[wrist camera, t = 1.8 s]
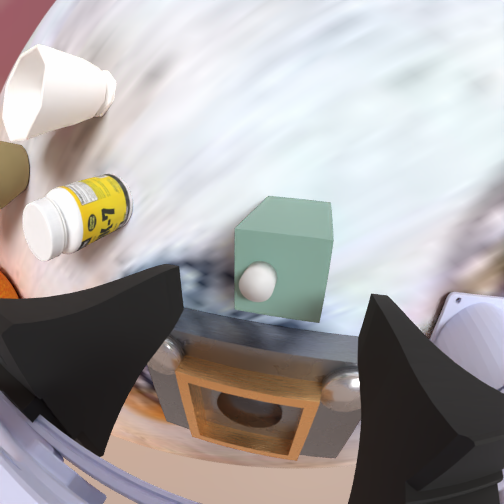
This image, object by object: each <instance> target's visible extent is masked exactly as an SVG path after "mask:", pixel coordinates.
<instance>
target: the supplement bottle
mask: <svg viewBox="0 0 504 504" xmlns="http://www.w3.org/2000/svg"><path fill="white" fill-rule="evenodd" d="M132 208H133V200H132V195H131V191H130V189H129V187H128V185H127V184H126V182H125V181H124V180H123V179H122V178H120V177H119V176H117V175H115V174H104V175H100V176H96V177H92V178H89V179H85V180H81V181H78V182H74V183H71V184H67V185H64V186H60V187H57V188H55V189H52V190H51V191H50V192H48V193H47V195H46V196H45V197H44V198H40V199H38V200H36V201H33V202H31V203H29V204H27V205H26V207H25V209H24V211H23V217H22V224H23V231H24V235H25V239H26V242H27V244H28V246H29V248H30V250H31V251H32V253H33V254H34V255H35V257H36V258H37V259H39V260H40V261H44V262H46V261H49V260H51V259H53V258H55V257H58V256H59V255H60V254H61V253H63V254H71V253H74V252H76V251H78V250H80V249H81V248H83V247H85V246H87V245H89V244H90V243H92V242H94V241H96V240H98V239H100V238H102V237H104V236H105V235H107V234H109V233H111V232H113V231H115V230H117V229H119V228H121V227H123V226H124V225H125V224H126V223H127V222H128V220H129V218H130V216H131V213H132Z"/></svg>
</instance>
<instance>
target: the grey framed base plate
mask: <svg viewBox="0 0 504 504" xmlns="http://www.w3.org/2000/svg"><path fill="white" fill-rule="evenodd" d="M357 359H358V337H357V336H348V335H339V334H331V333H323V332H316V331H308V330H301V329H295V328H288V327H282V326H276V325H270V324H264V323H258V322H252V321H247V320H241V319H236V318H231V317H226V316H221V315H216V314H211V313H206V312H201V311H197V310H192V309H188V308H184V310H183V312H182V314H181V316H180V318H179V320H178V322H177V323H176V325H175V327H174V329H173V330H172V332H171V333H170V334H169V336H168V337H167V338H166V340H165V341H164V342H163V344H162V345H161V346H160V348H159V349H158V350H157V352H156V353H155V354H154V355H153V357H152V358H151V359H150V361H149V362H148V363H147V365H148V368H149V372H150V375H151V378H152V381H153V384H154V387H155V390H156V393H157V396H158V399H159V401H160V404H161V407H162V410H163V412H164V415H165V418H166V420H167V421H168V422H171V423H173V424H176V425H179V426H182V427H185V428H187V429H190V431H191V434H192V437H195V438H199V439H202V440H205V441H208V442H212V443H215V444H219V445H222V446H226V447H230V448H234V449H238V450H242V451H246V452H251V453H255V454H260V455H265V456H270V457H276V458H282V459H288V460H295V461H297V459H298V457H299V455H306V456H315V457H326V458H336V457H337V455H338V454H339V452H340V451H341V450H342V448H343V447H344V445H345V443H346V442H347V440H348V439H349V437H350V436H351V434H352V433H353V431H354V429H355V428H356V426H357V424H358V423H359V421H360V419H361V400H360V387H359V375H358V363H357Z"/></svg>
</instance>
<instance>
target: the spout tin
mask: <svg viewBox="0 0 504 504" xmlns="http://www.w3.org/2000/svg"><path fill="white" fill-rule="evenodd" d="M332 247H333V224H332V210H331V203H330V202H322V201H314V200H305V199H295V198H285V197H275V196H268V197H267V198H266V199H265V200H264V201H263V202H262V203H261V204H260V205H258V206H257V207H256V208H255V209H254V210H253V211H252V212H251V213H250V214H249V215H248V216H247V217H246V218H245V219H244V220H243V221H242V222H241V223H240V224H239V225H238V226H237V227H236V228H235V310H240V311H246V312H251V313H257V314H263V315H269V316H275V317H282V318H288V319H295V320H302V321H309V322H316V323H319V322H320V317H321V312H322V307H323V301H324V296H325V290H326V285H327V279H328V273H329V267H330V261H331V254H332Z"/></svg>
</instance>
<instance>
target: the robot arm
mask: <svg viewBox="0 0 504 504" xmlns="http://www.w3.org/2000/svg"><path fill="white" fill-rule="evenodd" d="M457 298H459V300H457V301H456V299H457ZM183 310H184V308H183V299H182V290H181V281H180V270H179V266H175V265H169V264H163V265H159V266H155V267H152V268H149V269H146V270H143V271H140V272H138V273H135V274H132V275H129V276H127V277H124V278H121V279H118V280H115V281H112V282H109V283H106V284H103V285H100V286H97V287H94V288H90V289H86V290H82V291H78V292H74V293H69V294H63V295H57V296H51V297H42V298H28V299H11V298H0V504H103V503H104V501H105V500H106V495H105V494H103V493H102V492H100V491H99V490H97V489H96V488H95V487H93V486H92V485H91V484H89V483H88V482H87V481H85V480H84V479H83V478H82V477H80V476H79V475H78V474H77V473H76V472H75V471H74V470H72V469H71V468H70V467H68V466H67V465H66V464H65V463H64V460H63V457H64V458H65V459H67V460H68V461H69V462H71V463H72V464H73V465H75V466H76V467H78V468H79V469H80V470H82V471H83V472H85V473H86V474H88V475H89V476H91V477H92V478H94V479H96V480H97V481H99V482H100V483H102V484H104V485H105V486H107V487H109V488H110V489H112V490H114V491H116V492H117V493H119V494H121V495H123V496H125V497H127V498H128V499H130V500H132V501H134V502H136V503H138V504H201V503H198V502H195V501H192V500H189V499H186V498H183V497H181V496H178V495H175V494H173V493H170V492H168V491H165V490H163V489H161V488H158V487H156V486H154V485H151V484H149V483H147V482H145V481H143V480H141V479H139V478H137V477H135V476H133V475H131V474H129V473H127V472H125V471H123V470H121V469H119V468H117V467H116V466H114V465H112V464H110V463H109V462H107V461H105V460H103V459H102V458H100V457H101V456H103V455H104V452H105V448H106V445H107V442H108V440H109V437H110V434H111V431H112V429H113V427H114V424H115V422H116V420H117V417H118V415H119V413H120V410H121V408H122V406H123V404H124V402H125V400H126V398H127V396H128V394H129V392H130V391H131V389H132V387H133V385H134V384H135V382H136V380H137V378H138V376H139V375H140V373H141V372H142V370H143V369H144V367H145V366H146V365H147V363H148V362H149V361H150V359H151V358H152V357H153V355H154V354H155V353H156V352H157V350H158V349H159V348H160V346H161V345H162V344H163V342H164V341H165V340H166V338H167V337H168V336H169V334H170V333H171V332H172V330H173V329H174V327H175V325H176V323H177V322H178V320H179V318H180V316H181V314H182V312H183ZM357 363H358V375H359V387H360V400H361V431H360V442H359V450H358V457H357V464H356V470H355V475H354V481H353V485H352V490H351V494H350V498H349V502H348V504H504V297H497V296H487V295H478V294H468V293H459V292H451V293H450V294H449V295H448V296H447V298H446V301H445V303H444V306H443V309H442V311H441V314H440V316H439V319H438V321H437V323H436V326H435V328H434V330H433V333H432V335H431V337H430V339H428V338H427V337H426V336H425V335H424V334H423V333H422V332H421V331H420V330H419V329H418V327H417V326H416V325H415V324H414V323H413V322H412V321H411V320H410V319H409V318H408V317H407V316H406V315H405V313H404V312H403V311H402V310H401V309H400V308H399V307H398V306H397V305H396V304H395V303H394V302H393V301H392V300H391V299H390V298H389V297H388V296H387V295H378V294H371V296H370V300H369V304H368V307H367V311H366V314H365V318H364V321H363V325H362V328H361V331H360V334H359V337H358V359H357ZM62 456H63V457H62Z"/></svg>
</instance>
